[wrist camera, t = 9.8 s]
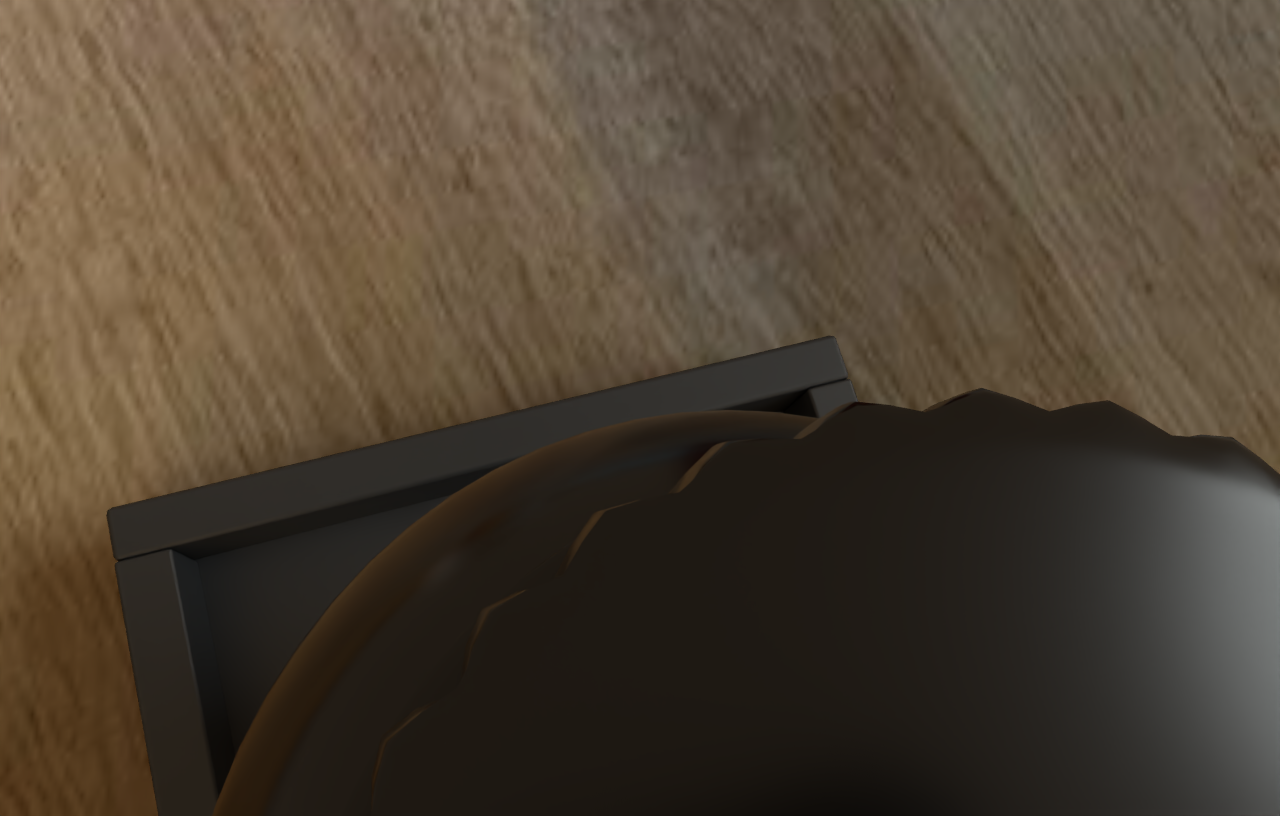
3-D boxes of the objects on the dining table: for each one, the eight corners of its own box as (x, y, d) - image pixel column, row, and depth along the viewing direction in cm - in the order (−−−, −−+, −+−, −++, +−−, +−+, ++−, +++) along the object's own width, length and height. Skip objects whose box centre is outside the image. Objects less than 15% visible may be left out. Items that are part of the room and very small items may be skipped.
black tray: (1019, 1030, 17) (1091, 1075, 15) (294, 1329, 15) (265, 1431, 13) (799, 369, 19) (835, 332, 17) (146, 530, 17) (102, 508, 15)
